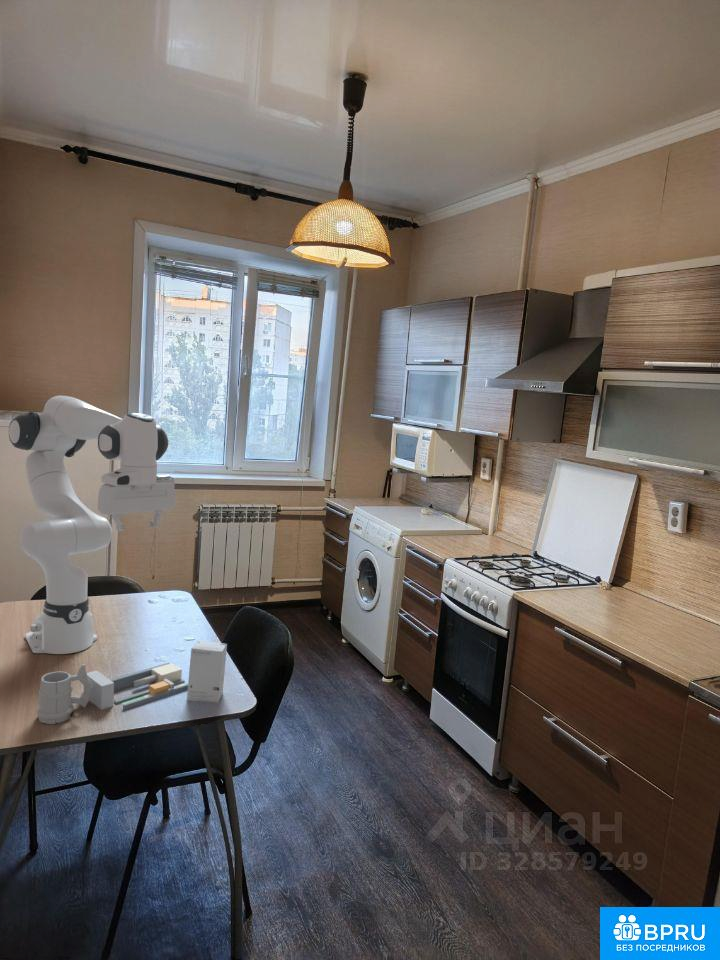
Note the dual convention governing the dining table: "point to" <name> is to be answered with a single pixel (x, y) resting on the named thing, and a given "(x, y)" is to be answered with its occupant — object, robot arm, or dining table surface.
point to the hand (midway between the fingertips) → (137, 528)
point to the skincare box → (206, 671)
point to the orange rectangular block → (158, 688)
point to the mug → (61, 695)
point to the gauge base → (105, 687)
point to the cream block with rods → (162, 675)
